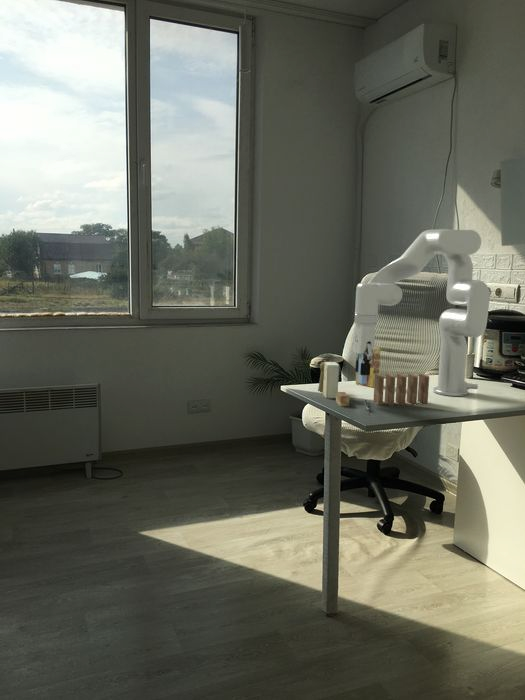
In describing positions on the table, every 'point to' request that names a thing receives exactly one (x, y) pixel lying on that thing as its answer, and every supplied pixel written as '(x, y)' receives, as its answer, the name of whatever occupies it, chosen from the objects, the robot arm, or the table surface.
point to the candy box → (372, 368)
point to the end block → (342, 399)
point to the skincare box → (330, 379)
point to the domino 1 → (360, 378)
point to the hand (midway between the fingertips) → (362, 372)
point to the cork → (321, 377)
